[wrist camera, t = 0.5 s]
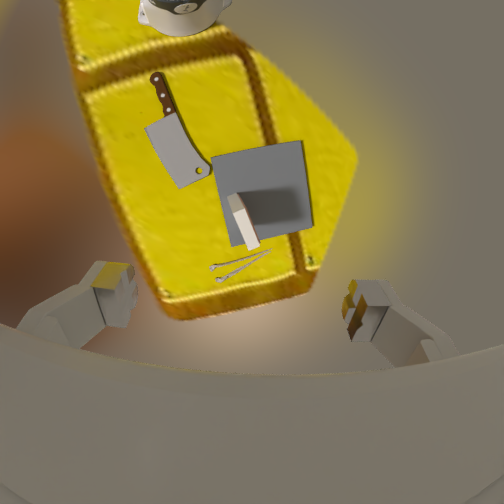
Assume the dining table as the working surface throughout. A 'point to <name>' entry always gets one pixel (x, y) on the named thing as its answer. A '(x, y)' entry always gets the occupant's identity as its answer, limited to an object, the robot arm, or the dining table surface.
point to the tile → (244, 221)
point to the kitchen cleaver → (174, 141)
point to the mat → (265, 189)
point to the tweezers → (236, 269)
